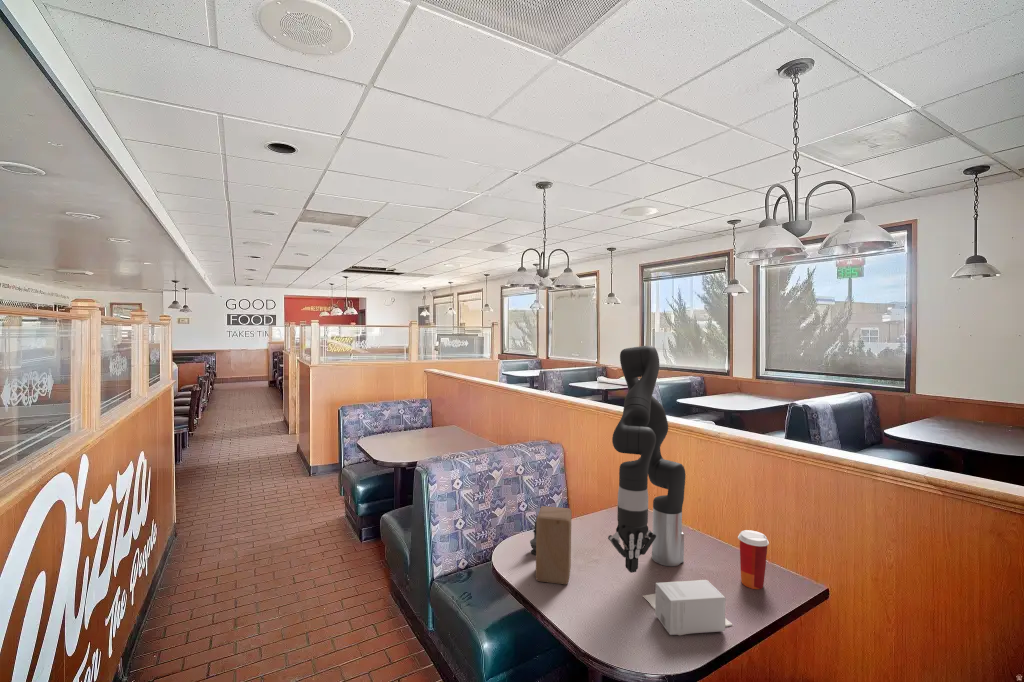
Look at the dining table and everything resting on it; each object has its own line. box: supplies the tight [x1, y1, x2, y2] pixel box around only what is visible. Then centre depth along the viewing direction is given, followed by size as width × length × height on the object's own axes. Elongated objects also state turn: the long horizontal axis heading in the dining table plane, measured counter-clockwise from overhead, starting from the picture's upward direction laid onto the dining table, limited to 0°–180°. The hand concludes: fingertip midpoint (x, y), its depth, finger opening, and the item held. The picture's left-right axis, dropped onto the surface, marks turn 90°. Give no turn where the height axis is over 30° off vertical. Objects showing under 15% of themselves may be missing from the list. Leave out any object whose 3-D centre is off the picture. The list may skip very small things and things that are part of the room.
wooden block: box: [535, 505, 573, 585], centre depth 143 cm, size 10×10×20 cm
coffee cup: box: [737, 529, 770, 590], centre depth 139 cm, size 8×8×15 cm
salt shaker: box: [529, 520, 537, 557], centre depth 157 cm, size 6×6×12 cm
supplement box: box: [654, 579, 727, 636], centre depth 120 cm, size 9×9×15 cm
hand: (631, 570), depth 118 cm, fingers closed
